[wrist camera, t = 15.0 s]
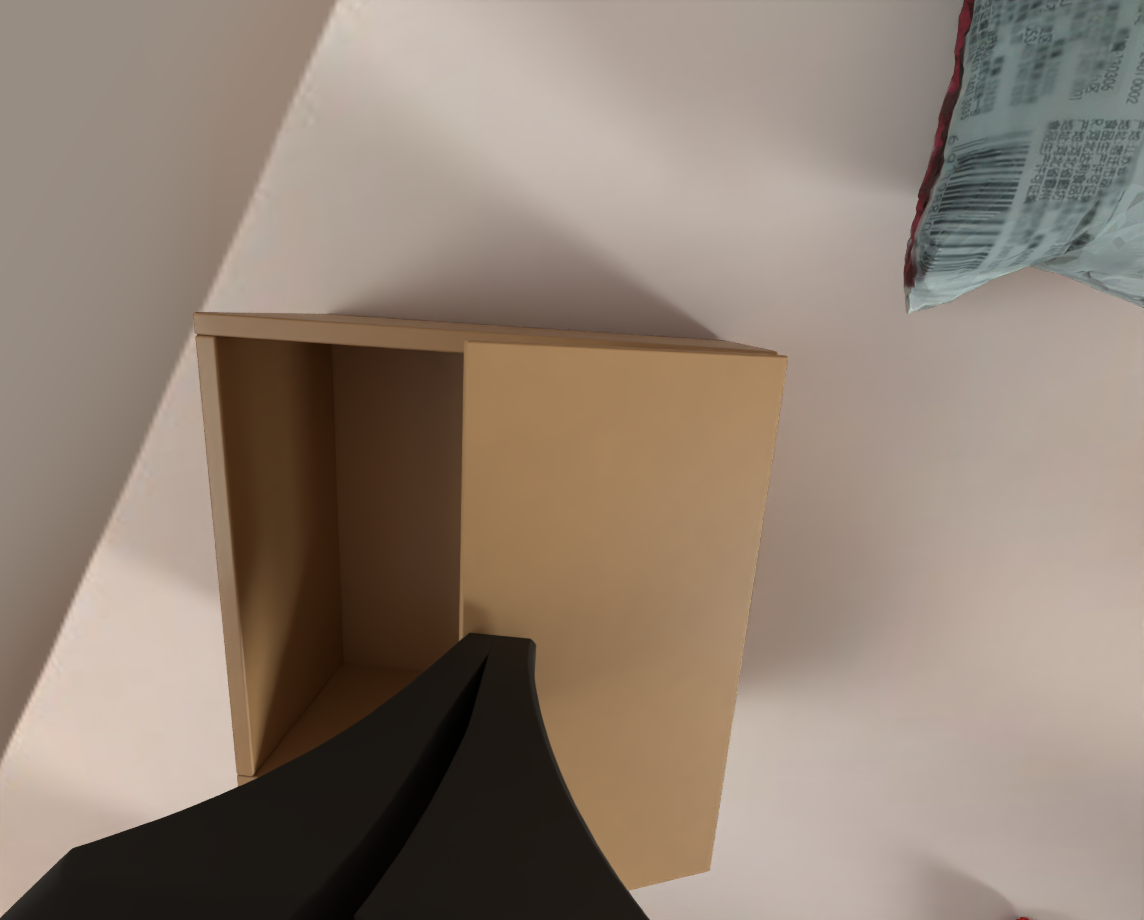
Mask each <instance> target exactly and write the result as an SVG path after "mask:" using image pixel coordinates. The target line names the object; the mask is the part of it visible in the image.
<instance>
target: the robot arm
mask: <svg viewBox="0 0 1144 920" xmlns="http://www.w3.org/2000/svg"><path fill="white" fill-rule="evenodd" d="M535 661H536V644H535V643H534V641H533V640H532V639H530V638H520V637H510V636H499V635H489V634H479V633H468V634H467V635H466V636H465V637H463V638H462V639H461V640H460V641H459V642H457V643H456V644H455V645H454V646H453V647H452V648H451V649H450V650H448V651H447V652H446V653H445V654H444V655H443V656H442V657H440V658H439V659H438V660H437V661H436V662H435V663H434V664H432V665H431V666H430V667H429V668H428V669H427V670H425V671H424V672H423V673H422V674H420V675H419V676H418V677H417V678H416V679H414V680H413V681H412V682H411V683H410V684H408V685H407V686H406V687H405V688H403V689H402V690H401V691H400V692H398V693H397V694H396V695H394V696H393V697H392V698H390V699H389V700H388V701H386V702H385V703H384V704H382V705H381V706H379V707H378V708H377V709H375V710H374V711H373V712H371V713H370V714H369V715H367V716H366V717H364V718H363V719H361V720H360V721H358V722H357V723H355V724H354V725H352V726H351V727H349V728H347V729H346V730H344V731H343V732H341V733H339V734H338V735H336V736H334V737H333V738H331V739H329V740H328V741H326V742H324V743H323V744H321V745H319V746H318V747H316V748H314V749H312V750H311V751H309V752H307V753H305V754H303V755H301V756H299V757H297V758H295V759H293V760H291V761H289V762H287V763H285V764H284V765H282V766H280V767H278V768H276V769H274V770H272V771H270V772H268V773H266V774H264V775H262V776H260V777H258V778H256V779H254V780H252V781H250V782H248V783H245V784H243V785H241V786H239V787H236V788H234V789H232V790H230V791H227V792H225V793H223V794H221V795H218V796H216V797H214V798H211V799H209V800H206V801H204V802H201V803H199V804H197V805H194V806H192V807H189V808H187V809H184V810H182V811H179V812H177V813H174V814H171V815H169V816H166V817H163V818H161V819H158V820H155V821H152V822H149V823H146V824H143V825H140V826H138V827H135V828H132V829H129V830H126V831H123V832H120V833H117V834H114V835H112V836H109V837H106V838H103V839H100V840H97V841H94V842H91V843H88V844H85V845H81V846H78V847H75V848H72V849H71V850H70V851H69V852H68V853H67V854H66V855H65V856H64V857H63V858H62V859H60V860H59V861H58V862H57V863H56V864H55V865H54V866H53V867H52V868H51V869H50V870H49V871H48V872H47V873H46V874H45V875H44V876H43V877H42V878H41V879H40V880H39V881H38V882H37V883H36V884H35V885H34V886H33V887H32V888H31V889H29V890H28V891H27V892H26V893H25V894H24V895H23V896H22V897H21V898H20V899H19V900H18V901H17V902H16V903H15V904H14V905H13V906H12V907H11V908H10V909H9V910H8V911H7V912H6V913H5V914H4V915H3V916H2V917H1V918H0V920H650V919H649V918H648V917H647V916H646V914H645V913H644V912H643V910H642V909H641V908H640V906H639V905H638V904H637V902H636V901H635V900H634V898H633V897H632V896H631V894H630V893H629V891H628V890H627V889H626V887H625V886H624V884H623V883H622V881H621V880H620V879H619V877H618V876H617V874H616V873H615V871H614V870H613V868H612V866H611V865H610V863H609V862H608V860H607V859H606V857H605V856H604V854H603V852H602V851H601V849H600V848H599V846H598V844H597V843H596V841H595V839H594V837H593V835H592V833H591V832H590V830H589V828H588V826H587V824H586V823H585V821H584V819H583V817H582V815H581V813H580V812H579V810H578V808H577V806H576V804H575V802H574V800H573V798H572V796H571V794H570V791H569V789H568V787H567V785H566V783H565V781H564V778H563V776H562V773H561V771H560V768H559V766H558V764H557V761H556V758H555V756H554V753H553V750H552V747H551V744H550V741H549V738H548V735H547V731H546V728H545V725H544V721H543V717H542V714H541V710H540V705H539V700H538V695H537V690H536V684H535Z"/></svg>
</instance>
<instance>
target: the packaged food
mask: <svg viewBox="0 0 1144 920" xmlns="http://www.w3.org/2000/svg"><path fill="white" fill-rule="evenodd" d="M954 53H955V67H954V75H953V76H952V78H951V82H950V84H949V87H948V90H947V92H946V95H945V98H944V101H943V104H942V108H941V111H940V115H939V122H938V128H937V131H936V134H935V137H934V142H933V147H932V152H931V157H930V161H929V165H928V169H927V172H926V174H925V177H924V180H923V183H922V185H921V188H920V190H919V194H918V198H919V201H918V203H917V206H916V212H917V214H916V216H915V219H914V221H913V223H912V227H911V237H910V239H909V240H908V243H907V250H906V255H905V266H904V291H905V304H906V312H907V314H909V313H912V312H915V311H919V310H926V309H929V308H932V307H934V306H937V305H940V304H943V303H948V302H951V301H953V300H954V299H956V298H957V297H958V296H960V295H961V294H964V293H966V292H969V291H972V290H974V289H976V288H978V287H980V286H982V285H984V284H985V283H987V282H988V281H990V280H992V279H995V278H998V277H1001V276H1004V275H1007V274H1010V273H1012V272H1015V271H1017V270H1020V269H1022V268H1025V267H1027V266H1031V267H1034V268H1038V269H1041V270H1045V271H1049V272H1053V273H1057V274H1061V275H1063V276H1066V277H1068V278H1071V279H1074V280H1076V281H1079V282H1081V283H1084V284H1086V285H1088V286H1090V287H1092V288H1094V289H1096V290H1099V291H1101V292H1104V293H1106V294H1109V295H1112V296H1115V297H1118V298H1120V299H1123V300H1125V301H1128V302H1130V303H1133V304H1136V305H1138V306H1140V307H1143V308H1144V0H964V2H963V7H962V10H961V13H960V15H959V22H958V33H957V39H956V45H955V51H954Z"/></svg>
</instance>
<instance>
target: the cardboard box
mask: <svg viewBox="0 0 1144 920" xmlns="http://www.w3.org/2000/svg"><path fill="white" fill-rule="evenodd" d="M193 317H194V328H195V333H196V334H197V336H196V347H197V358H198V368H199V379H200V390H201V400H202V411H203V421H204V432H205V442H206V453H207V464H208V474H209V485H210V495H211V506H212V516H213V527H214V537H215V548H216V559H217V569H218V580H219V590H220V601H221V611H222V622H223V633H224V643H225V654H226V664H227V675H228V685H229V696H230V707H231V717H232V728H233V738H234V749H235V759H236V770H237V774H238V776H237V780H238V787H239V786H241V785H243V784H245V783H248V782H250V781H252V780H254V779H256V778H258V777H260V776H262V775H264V774H266V773H268V772H270V771H272V770H274V769H276V768H278V767H280V766H282V765H284V764H285V763H287V762H289V761H291V760H293V759H295V758H297V757H299V756H301V755H303V754H305V753H307V752H309V751H311V750H312V749H314V748H316V747H318V746H319V745H321V744H323V743H324V742H326V741H328V740H329V739H331V738H333V737H334V736H336V735H338V734H339V733H341V732H343V731H344V730H346V729H347V728H349V727H351V726H352V725H354V724H355V723H357V722H358V721H360V720H361V719H363V718H364V717H366V716H367V715H369V714H370V713H371V712H373V711H374V710H375V709H377V708H378V707H379V706H381V705H382V704H384V703H385V702H386V701H388V700H389V699H390V698H392V697H393V696H394V695H396V694H397V693H398V692H400V691H401V690H402V689H403V688H405V687H406V686H407V685H408V684H410V683H411V682H412V681H413V680H414V679H416V678H417V677H418V676H419V675H420V674H422V673H423V672H424V671H425V670H427V669H428V668H429V667H430V666H431V665H432V664H434V663H435V662H436V661H437V660H438V659H439V658H440V657H442V656H443V655H444V654H445V653H446V652H447V651H448V650H450V649H451V648H452V647H453V646H454V645H455V644H456V643H457V642H459V609H460V550H461V491H462V431H463V372H464V341H465V340H467V339H469V340H489V341H509V342H530V343H550V344H570V345H590V346H610V347H630V348H650V349H670V350H691V351H711V352H731V353H751V354H771V355H777V352H776V351H772V350H767V349H763V348H758V347H753V346H748V345H743V344H739V343H734V342H729V341H723V340H708V339H693V338H678V337H663V336H648V335H633V334H618V333H603V332H588V331H573V330H558V329H543V328H528V327H513V326H497V325H482V324H467V323H452V322H437V321H422V320H407V319H392V318H377V317H362V316H347V315H332V314H291V313H219V312H195V313H194V314H193Z"/></svg>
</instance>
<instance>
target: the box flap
mask: <svg viewBox="0 0 1144 920" xmlns="http://www.w3.org/2000/svg"><path fill="white" fill-rule="evenodd" d="M787 362H788V357H787V356H782V355H771V354H751V353H731V352H711V351H691V350H670V349H650V348H630V347H610V346H590V345H570V344H550V343H530V342H509V341H489V340H469V339H467V340H465V341H464V372H463V431H462V491H461V550H460V609H459V641H460V640H461V639H462V638H463V637H465V636H466V635H467V634H468V633H479V634H489V635H499V636H510V637H520V638H530V639H532V640H533V641H534V643H535V644H536V661H535V684H536V690H537V695H538V700H539V705H540V710H541V714H542V717H543V721H544V725H545V728H546V731H547V735H548V738H549V741H550V744H551V747H552V750H553V753H554V756H555V758H556V761H557V764H558V766H559V768H560V771H561V773H562V776H563V778H564V781H565V783H566V785H567V787H568V789H569V791H570V794H571V796H572V798H573V800H574V802H575V804H576V806H577V808H578V810H579V812H580V813H581V815H582V817H583V819H584V821H585V823H586V824H587V826H588V828H589V830H590V832H591V833H592V835H593V837H594V839H595V841H596V843H597V844H598V846H599V848H600V849H601V851H602V852H603V854H604V856H605V857H606V859H607V860H608V862H609V863H610V865H611V866H612V868H613V870H614V871H615V873H616V874H617V876H618V877H619V879H620V880H621V881H622V883H623V884H624V886H625V887H626V889H627V890H632V889H637V888H641V887H645V886H649V885H653V884H657V883H661V882H666V881H670V880H674V879H678V878H682V877H686V876H690V875H695V874H699V873H703V872H707V871H709V870H710V866H711V859H712V853H713V846H714V840H715V833H716V826H717V820H718V813H719V807H720V800H721V794H722V787H723V781H724V774H725V768H726V761H727V754H728V748H729V741H730V735H731V728H732V722H733V715H734V709H735V702H736V696H737V689H738V682H739V676H740V669H741V663H742V656H743V650H744V643H745V637H746V630H747V624H748V617H749V610H750V604H751V597H752V591H753V584H754V578H755V571H756V565H757V558H758V552H759V545H760V538H761V532H762V525H763V519H764V512H765V506H766V499H767V493H768V486H769V480H770V473H771V466H772V460H773V453H774V447H775V440H776V434H777V427H778V421H779V414H780V408H781V401H782V394H783V388H784V381H785V375H786V368H787Z"/></svg>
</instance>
